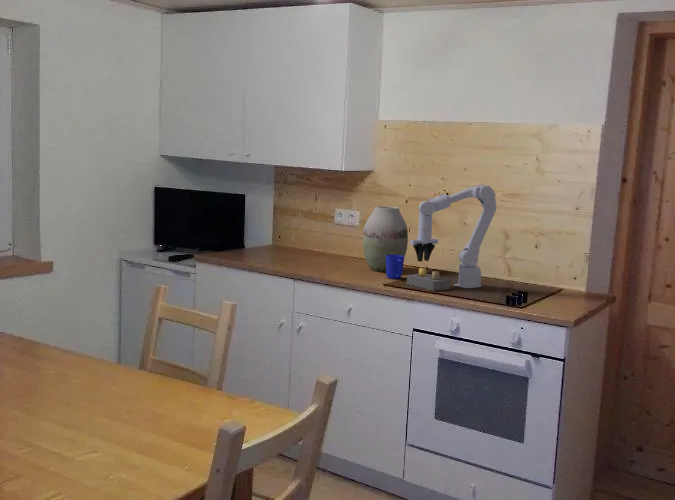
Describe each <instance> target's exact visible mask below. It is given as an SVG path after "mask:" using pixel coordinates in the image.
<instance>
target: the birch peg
mask: <svg viewBox="0 0 675 500" xmlns="http://www.w3.org/2000/svg"><path fill="white" fill-rule="evenodd" d="M431 275H432V279H433V280H439V277H440V271H436V270H435V271H432V272H431Z"/></svg>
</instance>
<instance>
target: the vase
mask: <svg viewBox="0 0 675 500" xmlns="http://www.w3.org/2000/svg"><path fill="white" fill-rule="evenodd" d="M408 232H409V231H408V225H407V223H406V221H405V219H404V217H403V215H402V214H401V211H400V208H399V207H396V206H386V205H381V206H380V205H379V206H375V207H374V209H373V211H372V212H371V213H370V216H368V218H367V220H366V221H365V224H364V227H363V234H362V249H363V255H364V258H365V261H366V263H367V264H368V267H369V268H370V270H371V271H373V272H378V273H386V255H401V256H404V258H406V257H405V256H406V253H407V249H408V243H409V237H408Z"/></svg>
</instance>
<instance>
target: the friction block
mask: <svg viewBox="0 0 675 500" xmlns="http://www.w3.org/2000/svg"><path fill="white" fill-rule="evenodd" d="M451 281H452V280H451V279H450V278H449V279H448V278H444V277H441V276H439V280H433V279H432V274H428V273H426V277H420V276H419V273H415V274H407V277H406V285H408V284H410V285H409V286H412V285H414V286H413V287H416V286H417V287H416V288H419V287H421V288H420V289H423V288H425V289H424V290H427V289H428V290H427V291H431V290H432V292H435V291H434V290H438V291H444V290H450V289H451V283H452V282H451Z"/></svg>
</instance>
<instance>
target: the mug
mask: <svg viewBox="0 0 675 500" xmlns="http://www.w3.org/2000/svg"><path fill="white" fill-rule="evenodd" d="M404 262H405V257H404V256H401V255H386V272H385V274H386V278H388V279H392V280H398V279H399V280H400V279H401V278H402V276H403V270H404Z"/></svg>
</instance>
